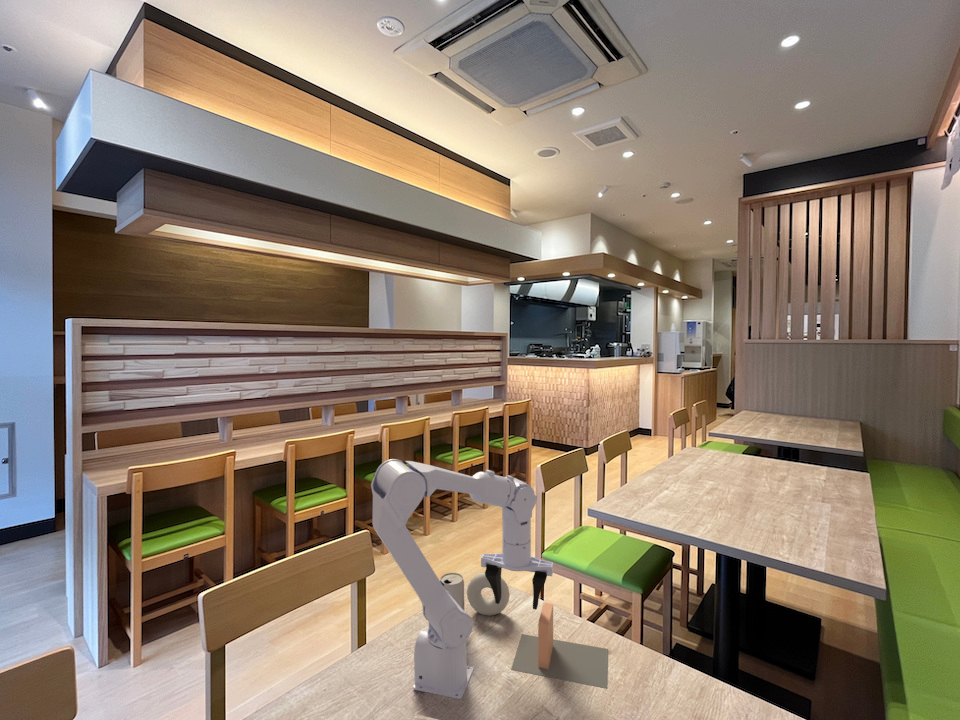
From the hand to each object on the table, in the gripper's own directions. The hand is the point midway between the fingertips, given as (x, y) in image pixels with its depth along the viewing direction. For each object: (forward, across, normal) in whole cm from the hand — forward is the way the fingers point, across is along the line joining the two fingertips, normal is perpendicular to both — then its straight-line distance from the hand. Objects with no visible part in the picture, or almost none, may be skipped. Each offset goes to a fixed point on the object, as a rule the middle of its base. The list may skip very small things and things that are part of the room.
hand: (516, 603), depth 96 cm
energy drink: (+11, +15, -3) cm, 19 cm away
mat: (+10, -9, 0) cm, 14 cm away
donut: (+11, +9, -11) cm, 18 cm away
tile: (+10, -6, 0) cm, 12 cm away
